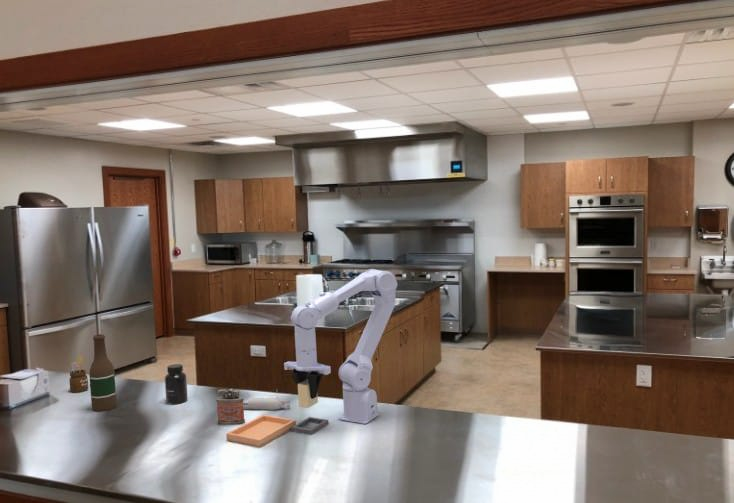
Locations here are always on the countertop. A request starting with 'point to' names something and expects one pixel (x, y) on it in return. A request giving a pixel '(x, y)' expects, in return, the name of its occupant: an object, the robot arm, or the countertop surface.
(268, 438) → the parts tray
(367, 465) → the countertop surface
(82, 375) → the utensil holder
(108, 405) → the beer bottle
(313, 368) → the robot arm
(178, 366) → the supplement bottle
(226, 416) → the lighter
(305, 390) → the tan rectangular block
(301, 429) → the socket
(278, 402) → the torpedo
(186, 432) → the countertop surface
